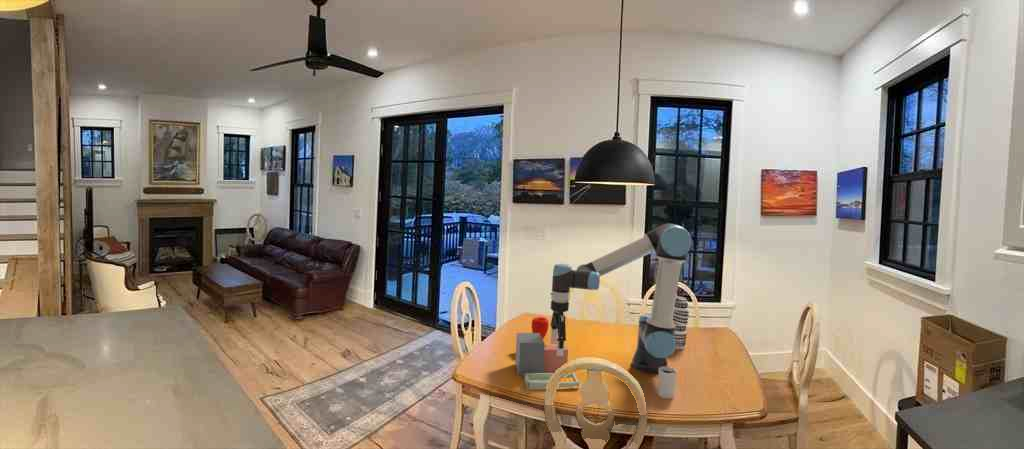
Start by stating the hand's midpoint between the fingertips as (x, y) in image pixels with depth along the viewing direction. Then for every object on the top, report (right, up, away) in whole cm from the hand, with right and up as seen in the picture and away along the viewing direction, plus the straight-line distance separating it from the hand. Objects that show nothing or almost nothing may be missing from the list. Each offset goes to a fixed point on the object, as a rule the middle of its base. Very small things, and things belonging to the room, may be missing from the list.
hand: (556, 349), depth 196 cm
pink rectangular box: (-4, -9, 0) cm, 10 cm away
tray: (-4, -10, -14) cm, 17 cm away
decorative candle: (+65, -9, +38) cm, 75 cm away
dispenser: (-12, -9, 0) cm, 15 cm away
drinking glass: (+40, -13, -19) cm, 46 cm away
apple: (-5, -5, +40) cm, 41 cm away
